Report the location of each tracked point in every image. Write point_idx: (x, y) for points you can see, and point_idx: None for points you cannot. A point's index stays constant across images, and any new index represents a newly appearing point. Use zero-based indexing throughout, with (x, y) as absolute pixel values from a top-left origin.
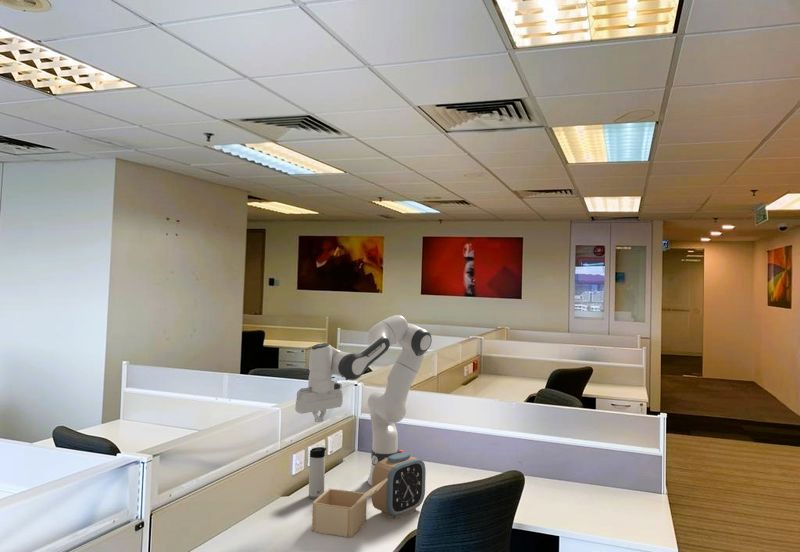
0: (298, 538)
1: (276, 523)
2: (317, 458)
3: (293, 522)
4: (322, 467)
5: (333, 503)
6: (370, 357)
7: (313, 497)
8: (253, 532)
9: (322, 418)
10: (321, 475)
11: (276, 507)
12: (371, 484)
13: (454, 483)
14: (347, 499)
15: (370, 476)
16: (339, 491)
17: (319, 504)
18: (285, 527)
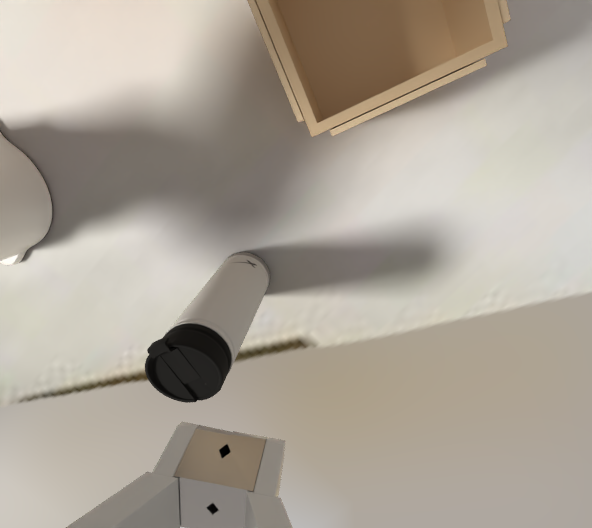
0: (543, 53)
1: (485, 212)
2: (218, 331)
3: (445, 176)
4: (209, 298)
5: (315, 107)
6: None
7: (266, 267)
8: (586, 214)
9: (181, 454)
10: (223, 284)
11: (390, 302)
12: (49, 206)
13: None
14: (286, 38)
15: (26, 228)
16: (299, 77)
17: (497, 7)
18: (493, 165)
